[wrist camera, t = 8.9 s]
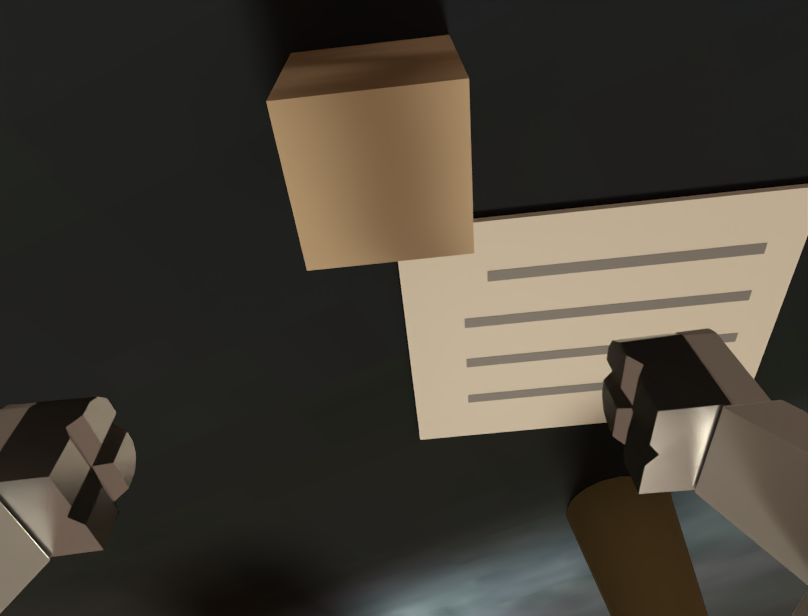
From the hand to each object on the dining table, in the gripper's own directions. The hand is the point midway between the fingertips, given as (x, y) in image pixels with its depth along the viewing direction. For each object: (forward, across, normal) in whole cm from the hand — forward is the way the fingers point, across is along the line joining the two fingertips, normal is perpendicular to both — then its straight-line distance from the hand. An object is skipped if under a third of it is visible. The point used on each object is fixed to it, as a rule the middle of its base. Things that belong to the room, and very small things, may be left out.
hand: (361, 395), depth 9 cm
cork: (+13, +12, -24) cm, 29 cm away
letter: (+12, +9, -10) cm, 18 cm away
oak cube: (+13, 0, 0) cm, 13 cm away
